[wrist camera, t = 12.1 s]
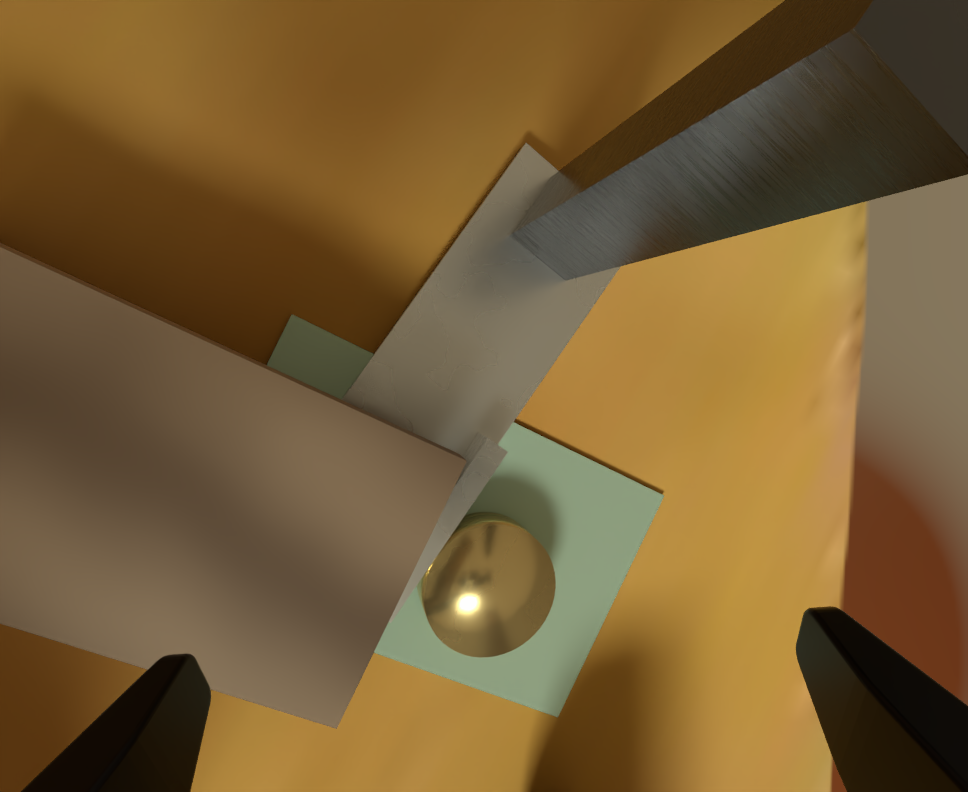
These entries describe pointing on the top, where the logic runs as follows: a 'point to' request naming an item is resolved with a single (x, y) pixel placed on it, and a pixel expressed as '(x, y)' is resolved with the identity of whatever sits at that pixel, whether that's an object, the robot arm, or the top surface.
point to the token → (488, 586)
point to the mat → (541, 511)
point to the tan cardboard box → (197, 500)
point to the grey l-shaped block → (668, 206)
